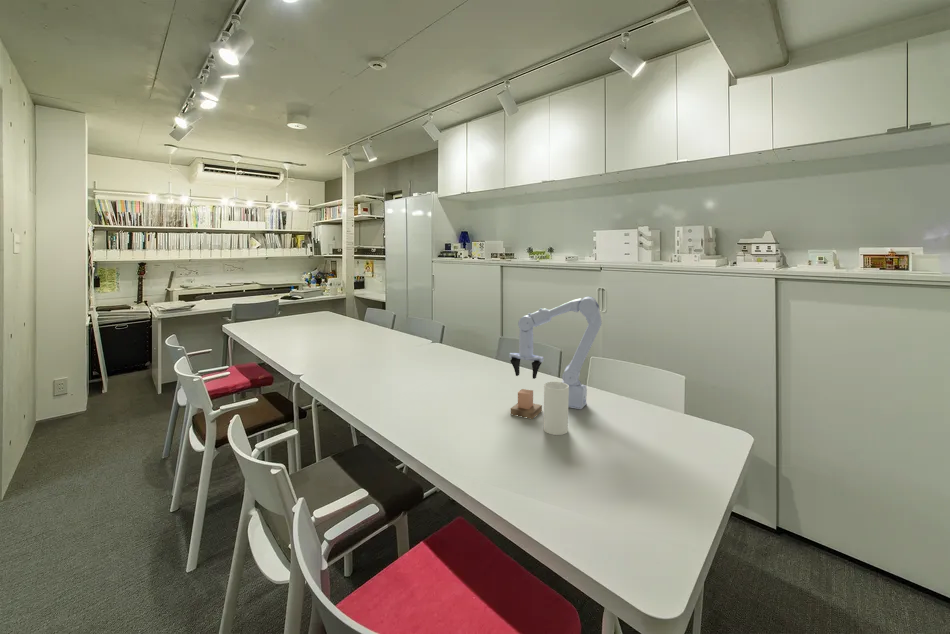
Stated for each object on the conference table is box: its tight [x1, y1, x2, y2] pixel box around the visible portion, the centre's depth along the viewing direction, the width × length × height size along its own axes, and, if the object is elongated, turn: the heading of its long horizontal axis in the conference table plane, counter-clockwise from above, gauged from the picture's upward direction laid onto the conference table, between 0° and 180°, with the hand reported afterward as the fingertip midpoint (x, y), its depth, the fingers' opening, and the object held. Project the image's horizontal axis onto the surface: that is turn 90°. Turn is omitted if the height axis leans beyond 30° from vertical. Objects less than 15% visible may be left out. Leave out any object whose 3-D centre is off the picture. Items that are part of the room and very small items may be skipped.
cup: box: [543, 381, 569, 436], centre depth 139 cm, size 8×8×16 cm
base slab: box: [510, 402, 543, 420], centre depth 155 cm, size 9×9×3 cm
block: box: [517, 388, 534, 409], centre depth 154 cm, size 4×4×6 cm
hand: (525, 376), depth 168 cm, fingers open, 7 cm apart
